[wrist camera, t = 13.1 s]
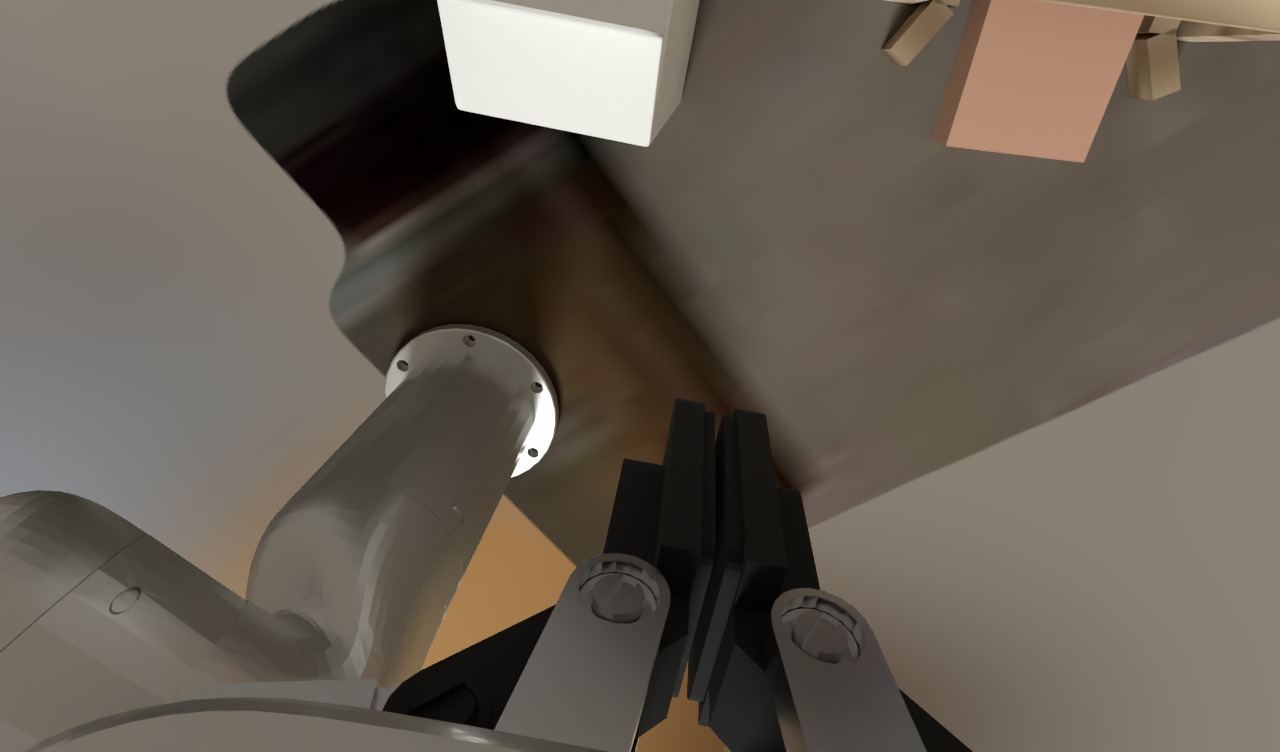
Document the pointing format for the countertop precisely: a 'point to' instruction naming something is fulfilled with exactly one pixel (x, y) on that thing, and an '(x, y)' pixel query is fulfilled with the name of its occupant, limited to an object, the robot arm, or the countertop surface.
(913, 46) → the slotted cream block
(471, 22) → the milk
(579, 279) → the countertop surface
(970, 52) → the tile
